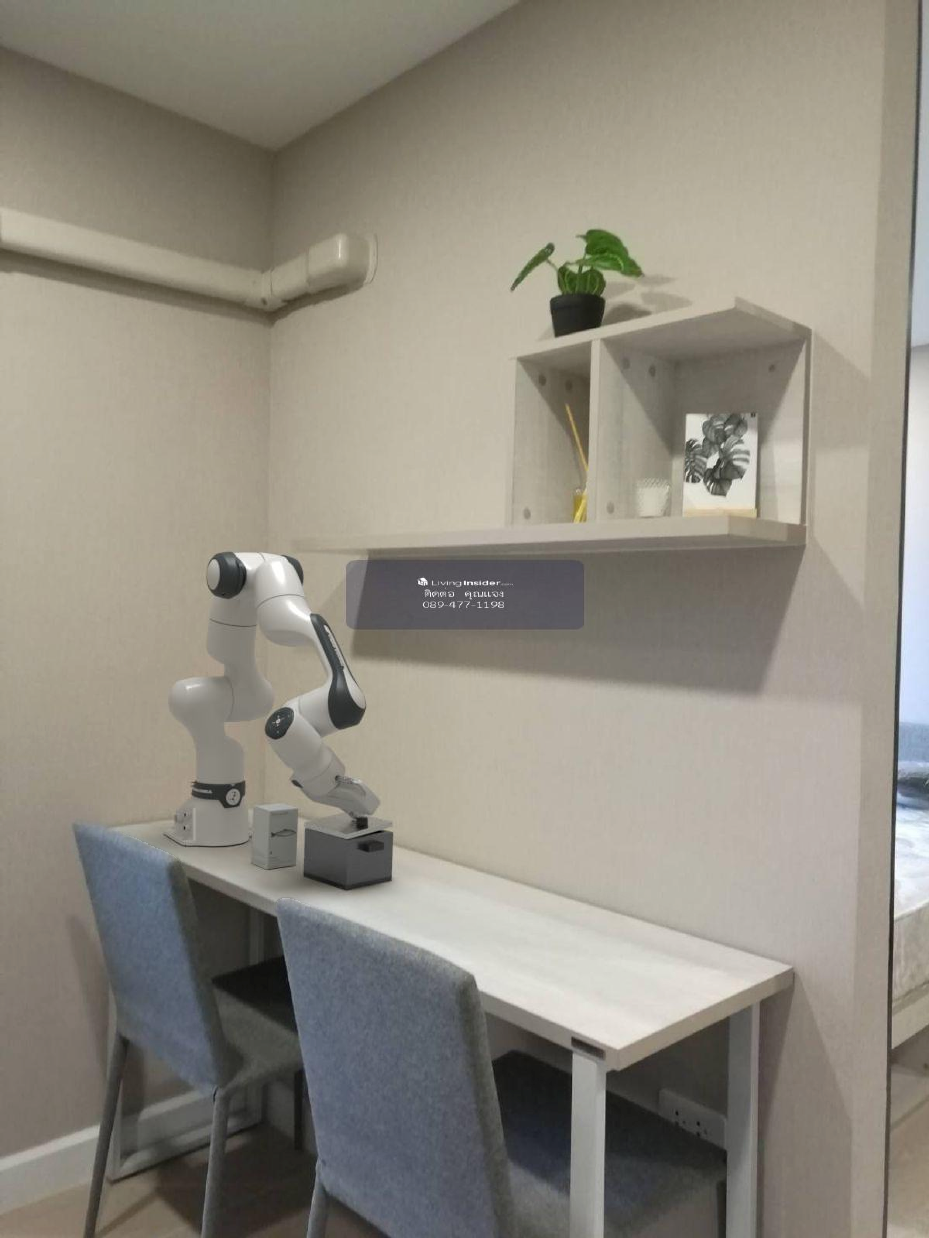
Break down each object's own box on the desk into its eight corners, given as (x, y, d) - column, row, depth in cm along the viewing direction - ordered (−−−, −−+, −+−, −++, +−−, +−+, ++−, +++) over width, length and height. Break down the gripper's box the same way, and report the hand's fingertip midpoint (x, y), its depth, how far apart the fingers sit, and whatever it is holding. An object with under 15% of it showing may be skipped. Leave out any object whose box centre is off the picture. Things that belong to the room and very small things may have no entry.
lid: (304, 827, 204) (303, 814, 204) (349, 815, 213) (349, 803, 213) (347, 839, 195) (346, 826, 195) (392, 826, 203) (392, 813, 203)
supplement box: (266, 870, 208) (268, 810, 208) (250, 863, 214) (252, 804, 214) (297, 865, 213) (299, 807, 213) (280, 858, 219) (282, 801, 219)
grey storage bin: (298, 874, 206) (299, 826, 206) (343, 865, 214) (344, 819, 214) (352, 892, 194) (353, 841, 194) (397, 882, 202) (399, 833, 202)
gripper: (364, 768, 193) (400, 812, 200) (302, 756, 207) (337, 798, 214) (346, 793, 190) (383, 837, 197) (283, 779, 204) (320, 821, 211)
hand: (358, 816), depth 206 cm, fingers closed, pressing on lid
